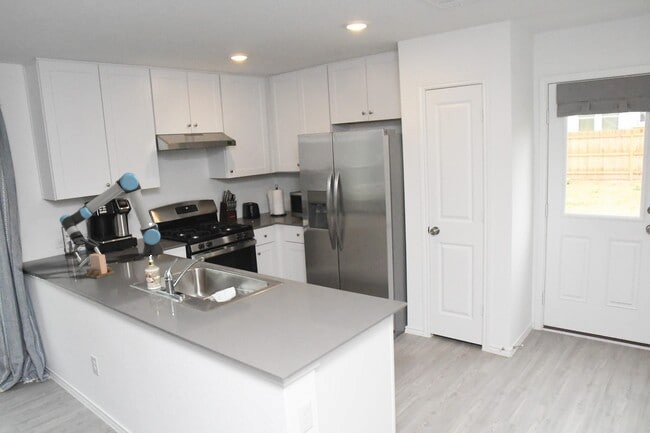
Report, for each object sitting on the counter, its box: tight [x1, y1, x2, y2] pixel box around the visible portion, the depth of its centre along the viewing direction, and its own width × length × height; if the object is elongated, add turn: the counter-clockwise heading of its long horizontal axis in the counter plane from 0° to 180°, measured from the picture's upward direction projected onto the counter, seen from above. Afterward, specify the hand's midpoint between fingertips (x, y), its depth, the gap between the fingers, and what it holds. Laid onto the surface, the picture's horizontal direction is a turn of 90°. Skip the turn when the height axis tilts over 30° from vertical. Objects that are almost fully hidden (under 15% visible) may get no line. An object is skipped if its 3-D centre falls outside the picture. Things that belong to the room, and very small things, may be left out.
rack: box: [84, 266, 116, 279], centre depth 303 cm, size 15×12×4 cm
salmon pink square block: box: [88, 252, 108, 274], centre depth 302 cm, size 12×4×12 cm, turn 55°
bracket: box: [72, 256, 91, 274], centre depth 324 cm, size 3×21×10 cm, turn 174°
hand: (90, 258), depth 309 cm, fingers open, 13 cm apart
